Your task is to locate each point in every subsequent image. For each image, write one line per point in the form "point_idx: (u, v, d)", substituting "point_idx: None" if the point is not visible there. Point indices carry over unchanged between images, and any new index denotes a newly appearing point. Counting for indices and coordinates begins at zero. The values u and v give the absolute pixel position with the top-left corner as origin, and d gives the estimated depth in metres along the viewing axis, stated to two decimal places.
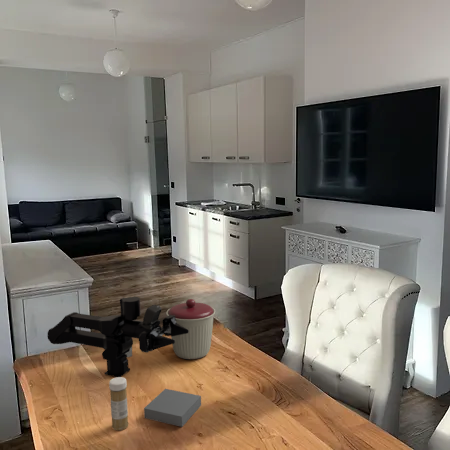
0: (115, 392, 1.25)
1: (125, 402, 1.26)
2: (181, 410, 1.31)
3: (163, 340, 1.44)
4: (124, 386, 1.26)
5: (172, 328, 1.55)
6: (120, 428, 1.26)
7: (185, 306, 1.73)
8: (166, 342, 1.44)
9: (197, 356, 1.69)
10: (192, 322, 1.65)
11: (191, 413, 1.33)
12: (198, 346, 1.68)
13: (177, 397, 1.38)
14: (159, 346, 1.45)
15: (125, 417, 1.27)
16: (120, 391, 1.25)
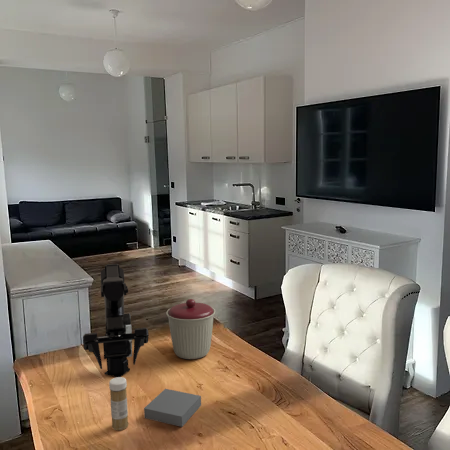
0: (115, 392, 1.25)
1: (125, 402, 1.26)
2: (181, 410, 1.31)
3: (96, 357, 1.34)
4: (124, 386, 1.26)
5: None
6: (120, 428, 1.26)
7: (185, 306, 1.73)
8: None
9: (197, 356, 1.69)
10: (192, 322, 1.65)
11: (191, 413, 1.33)
12: (198, 346, 1.68)
13: (177, 397, 1.38)
14: (95, 356, 1.37)
15: (125, 417, 1.27)
16: (120, 391, 1.25)
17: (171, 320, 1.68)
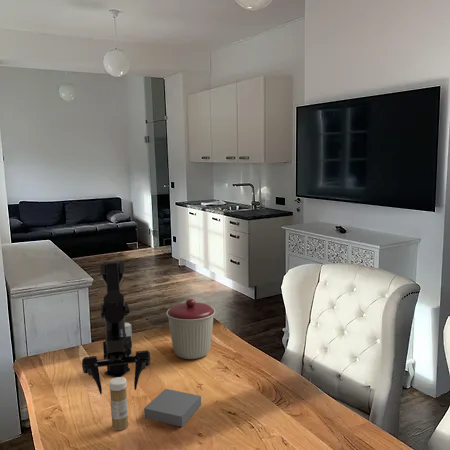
0: (115, 392, 1.25)
1: (125, 402, 1.26)
2: (181, 410, 1.31)
3: (96, 382, 1.29)
4: (124, 386, 1.26)
5: None
6: (120, 428, 1.26)
7: (185, 306, 1.73)
8: (97, 386, 1.29)
9: (197, 356, 1.69)
10: (192, 322, 1.65)
11: (191, 413, 1.33)
12: (198, 346, 1.68)
13: (177, 397, 1.38)
14: (95, 380, 1.31)
15: (125, 417, 1.27)
16: (120, 391, 1.25)
17: (171, 320, 1.68)
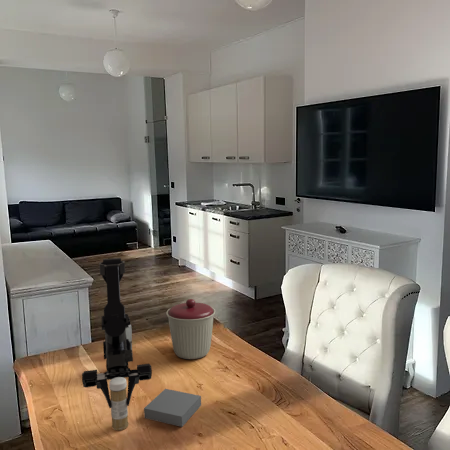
0: (115, 392, 1.25)
1: (125, 402, 1.26)
2: (181, 410, 1.31)
3: (105, 395, 1.27)
4: (124, 386, 1.26)
5: None
6: (120, 428, 1.26)
7: (185, 306, 1.73)
8: (106, 399, 1.27)
9: (197, 356, 1.69)
10: (192, 322, 1.65)
11: (191, 413, 1.33)
12: (198, 346, 1.68)
13: (177, 397, 1.38)
14: (103, 393, 1.29)
15: (125, 417, 1.27)
16: (120, 391, 1.25)
17: (171, 320, 1.68)
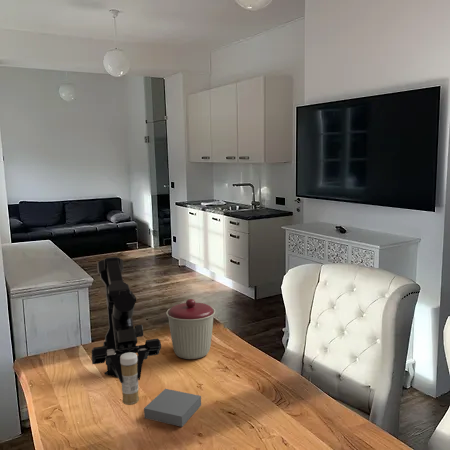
0: (127, 367, 1.25)
1: (136, 377, 1.27)
2: (181, 410, 1.31)
3: (116, 371, 1.27)
4: (135, 360, 1.26)
5: (137, 357, 1.30)
6: (132, 403, 1.26)
7: (185, 306, 1.73)
8: (117, 375, 1.27)
9: (197, 356, 1.69)
10: (192, 322, 1.65)
11: (191, 413, 1.33)
12: (198, 346, 1.68)
13: (177, 397, 1.38)
14: (113, 369, 1.29)
15: (136, 392, 1.27)
16: (132, 365, 1.25)
17: (171, 320, 1.68)
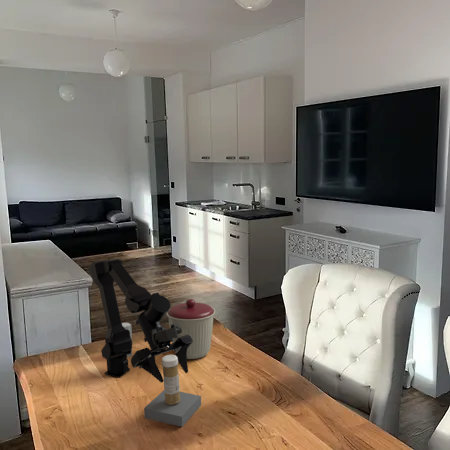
0: (171, 368, 1.31)
1: (178, 376, 1.34)
2: (181, 410, 1.31)
3: (154, 372, 1.31)
4: (177, 361, 1.33)
5: (179, 353, 1.39)
6: (176, 401, 1.33)
7: (185, 306, 1.73)
8: (156, 375, 1.31)
9: (197, 356, 1.69)
10: (192, 322, 1.65)
11: (191, 413, 1.33)
12: (198, 346, 1.68)
13: None
14: (149, 371, 1.32)
15: (179, 390, 1.34)
16: (175, 366, 1.32)
17: (171, 320, 1.68)
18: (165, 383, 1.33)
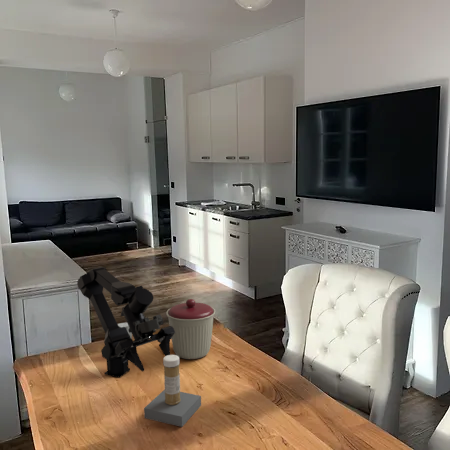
0: (173, 368, 1.32)
1: (179, 376, 1.34)
2: (181, 410, 1.31)
3: (136, 361, 1.38)
4: None
5: (162, 343, 1.46)
6: (177, 402, 1.33)
7: (185, 306, 1.73)
8: (137, 364, 1.38)
9: (197, 356, 1.69)
10: (192, 322, 1.65)
11: (191, 413, 1.33)
12: (198, 346, 1.68)
13: None
14: (131, 360, 1.39)
15: (179, 391, 1.35)
16: (177, 366, 1.32)
17: (171, 320, 1.68)
18: (166, 383, 1.33)
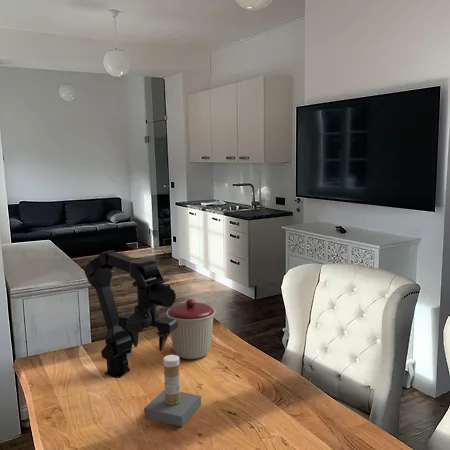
0: (173, 368, 1.32)
1: (179, 377, 1.34)
2: (181, 410, 1.31)
3: None
4: None
5: None
6: (177, 402, 1.33)
7: (185, 306, 1.73)
8: None
9: (197, 356, 1.69)
10: (192, 322, 1.65)
11: (191, 413, 1.33)
12: (198, 346, 1.68)
13: None
14: None
15: (179, 391, 1.34)
16: (177, 366, 1.32)
17: None
18: (166, 383, 1.33)
